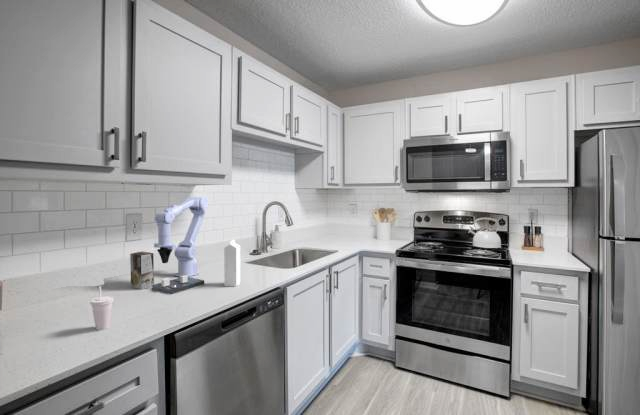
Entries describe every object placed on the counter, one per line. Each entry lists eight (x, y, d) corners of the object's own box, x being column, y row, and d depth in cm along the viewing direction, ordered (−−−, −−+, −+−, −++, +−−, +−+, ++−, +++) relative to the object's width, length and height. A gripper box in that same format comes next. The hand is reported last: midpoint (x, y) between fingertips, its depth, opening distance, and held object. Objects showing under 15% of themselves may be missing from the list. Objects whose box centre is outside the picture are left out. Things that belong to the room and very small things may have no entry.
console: (185, 280, 165) (185, 274, 165) (204, 284, 158) (204, 277, 158) (152, 289, 150) (152, 282, 150) (171, 294, 143) (171, 287, 143)
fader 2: (185, 281, 155) (185, 274, 155) (187, 281, 155) (187, 275, 154) (180, 282, 153) (179, 275, 153) (182, 283, 152) (182, 276, 152)
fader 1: (167, 284, 150) (167, 277, 149) (169, 285, 149) (169, 278, 149) (161, 286, 147) (161, 279, 147) (164, 286, 146) (164, 279, 146)
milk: (224, 286, 156) (223, 241, 155) (229, 282, 162) (228, 239, 161) (236, 286, 155) (236, 241, 154) (240, 283, 161) (240, 239, 160)
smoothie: (98, 323, 110) (97, 283, 110) (118, 323, 111) (117, 283, 110) (86, 332, 104) (85, 289, 103) (107, 331, 104) (106, 289, 104)
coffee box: (154, 286, 154) (154, 252, 154) (141, 289, 149) (140, 255, 148) (143, 283, 159) (143, 251, 158) (130, 286, 153) (129, 253, 153)
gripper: (148, 235, 160) (148, 262, 161) (166, 237, 153) (166, 266, 153) (161, 233, 166) (161, 260, 167) (179, 236, 159) (179, 263, 160)
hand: (165, 262), depth 161 cm, fingers closed
